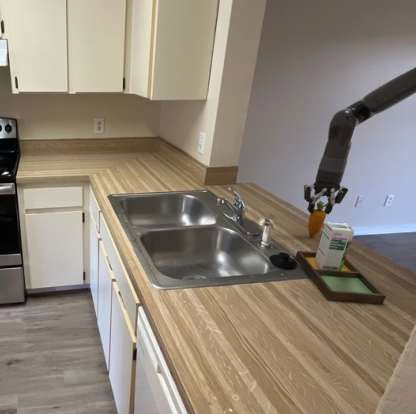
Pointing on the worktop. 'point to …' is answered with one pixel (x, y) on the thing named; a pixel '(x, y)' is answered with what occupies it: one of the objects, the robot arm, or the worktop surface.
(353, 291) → the sorting tray
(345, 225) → the syrup box
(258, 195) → the worktop surface
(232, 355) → the worktop surface
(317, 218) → the carrot
